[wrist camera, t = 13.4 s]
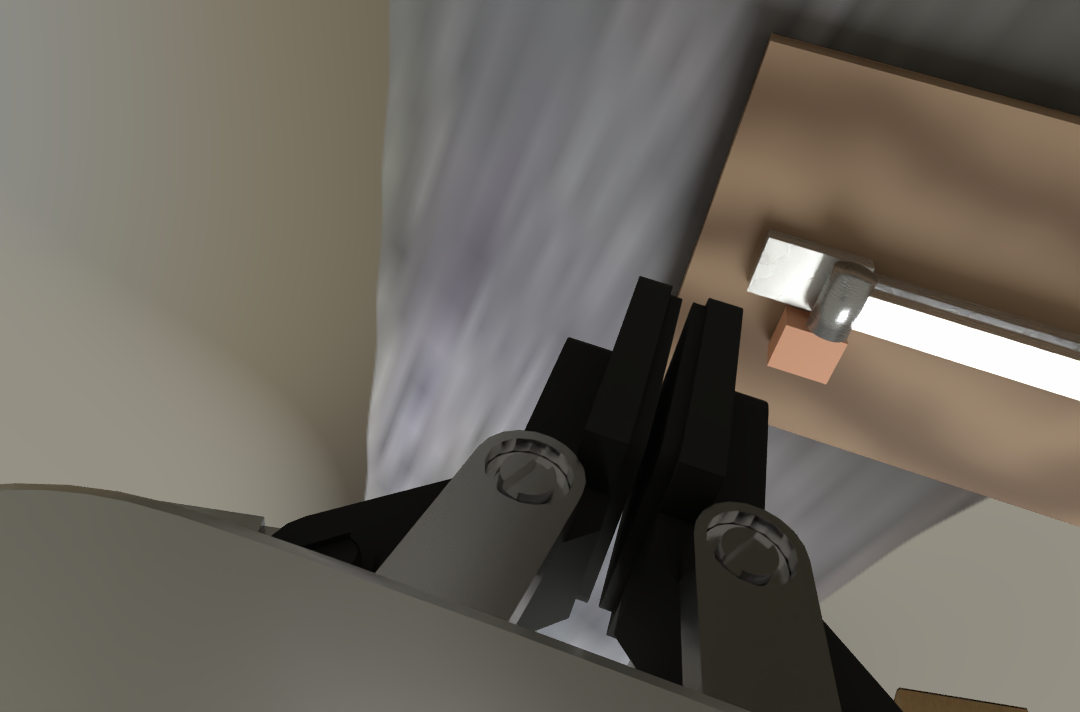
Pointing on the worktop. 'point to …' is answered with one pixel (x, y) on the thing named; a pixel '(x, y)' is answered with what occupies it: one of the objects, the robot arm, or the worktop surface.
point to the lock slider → (802, 348)
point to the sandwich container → (946, 703)
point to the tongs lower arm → (805, 266)
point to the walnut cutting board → (906, 260)
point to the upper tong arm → (938, 332)
